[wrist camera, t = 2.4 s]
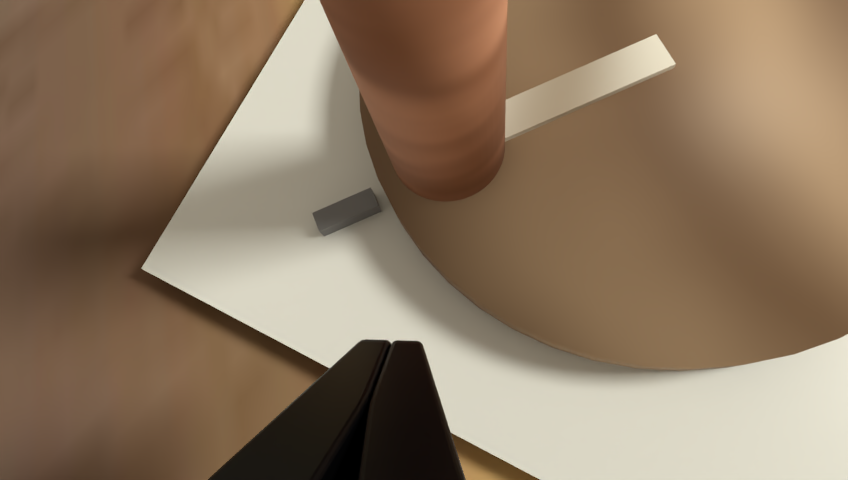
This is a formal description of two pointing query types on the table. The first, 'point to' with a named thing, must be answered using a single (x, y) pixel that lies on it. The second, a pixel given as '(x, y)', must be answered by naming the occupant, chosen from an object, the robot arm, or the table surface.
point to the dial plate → (460, 306)
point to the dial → (619, 166)
